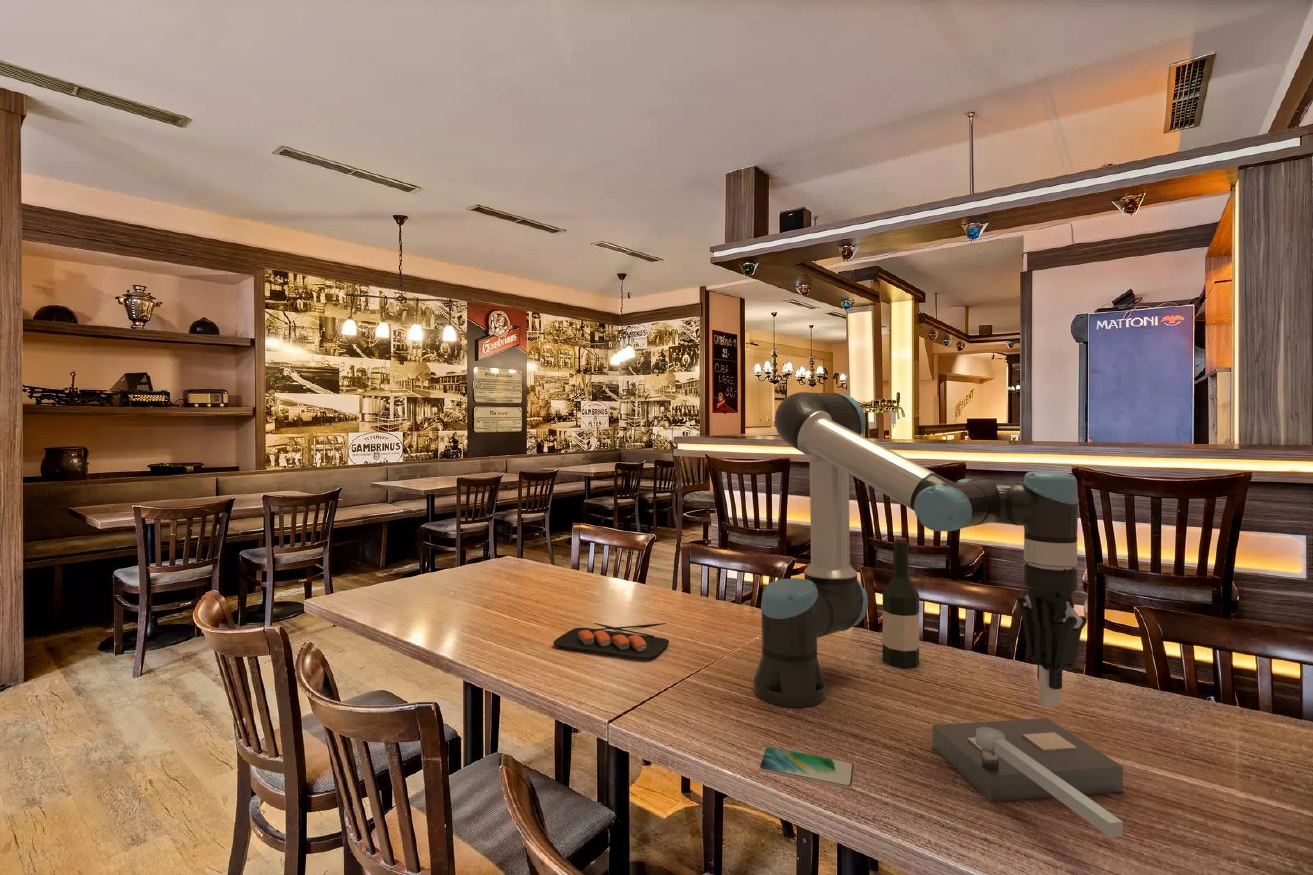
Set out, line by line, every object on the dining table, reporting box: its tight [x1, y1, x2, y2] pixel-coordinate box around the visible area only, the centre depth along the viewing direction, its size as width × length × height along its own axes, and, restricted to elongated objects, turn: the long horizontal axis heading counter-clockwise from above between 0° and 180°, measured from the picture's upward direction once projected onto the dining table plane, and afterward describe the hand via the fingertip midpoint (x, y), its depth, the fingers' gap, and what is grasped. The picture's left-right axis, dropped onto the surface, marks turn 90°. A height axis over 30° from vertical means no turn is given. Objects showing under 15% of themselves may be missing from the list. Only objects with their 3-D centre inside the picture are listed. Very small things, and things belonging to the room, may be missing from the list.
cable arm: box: [976, 727, 1124, 839], centre depth 87 cm, size 24×4×2 cm, turn 9°
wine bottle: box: [882, 537, 920, 670], centre depth 148 cm, size 8×8×30 cm
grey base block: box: [932, 717, 1124, 803], centre depth 103 cm, size 22×16×7 cm
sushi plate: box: [552, 622, 670, 660], centre depth 168 cm, size 29×30×4 cm
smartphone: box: [758, 746, 856, 789], centre depth 103 cm, size 7×1×15 cm
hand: (1049, 704), depth 103 cm, fingers closed
